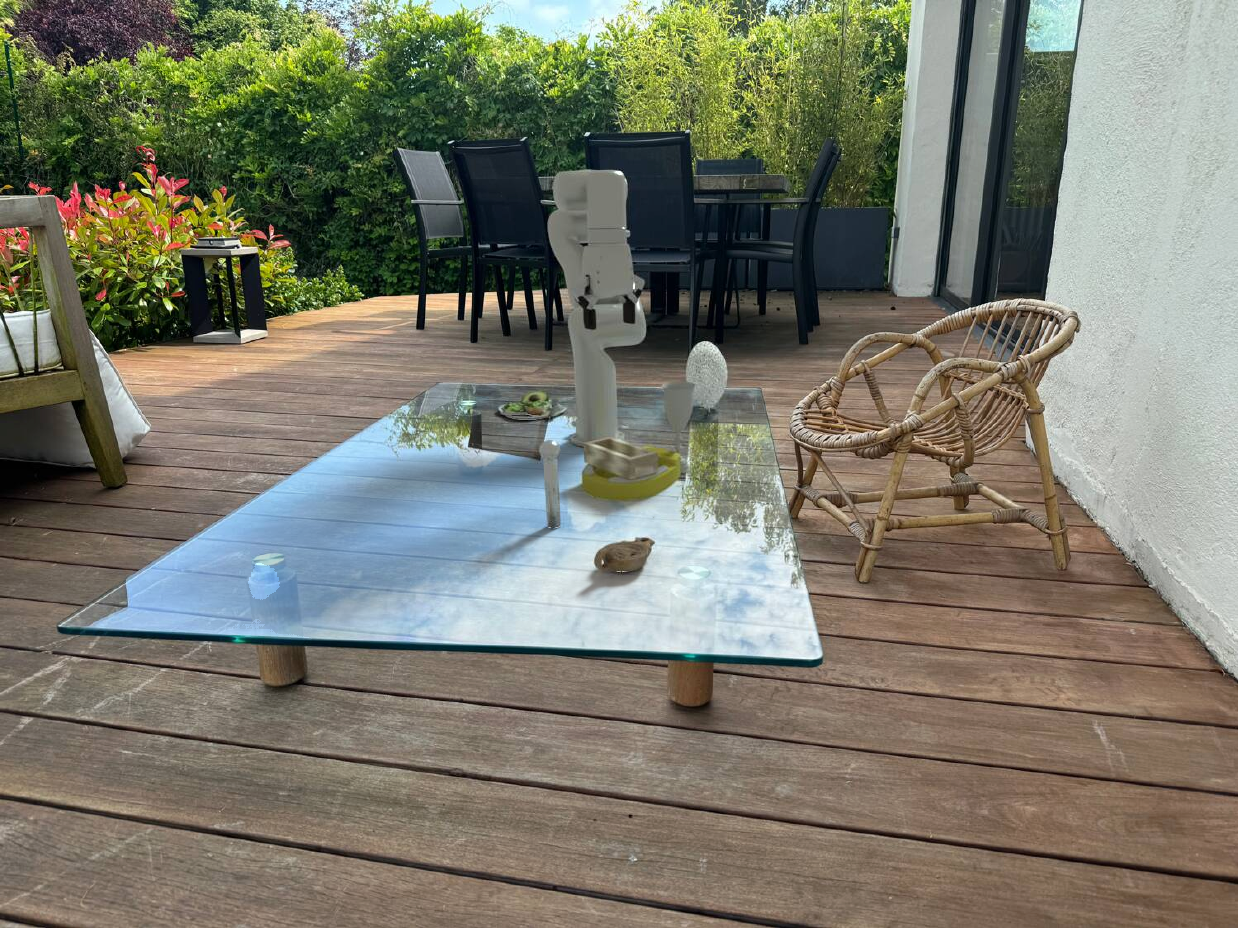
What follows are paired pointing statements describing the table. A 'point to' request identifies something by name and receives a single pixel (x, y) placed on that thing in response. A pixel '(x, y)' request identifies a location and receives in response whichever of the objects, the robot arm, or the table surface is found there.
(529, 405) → the salad plate
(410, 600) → the table surface
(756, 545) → the table surface
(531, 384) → the table surface
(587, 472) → the yellow-green spoked oval frame
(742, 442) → the table surface
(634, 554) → the oil lamp
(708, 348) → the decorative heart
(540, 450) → the silver metal pin
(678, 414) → the chalice
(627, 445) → the link
